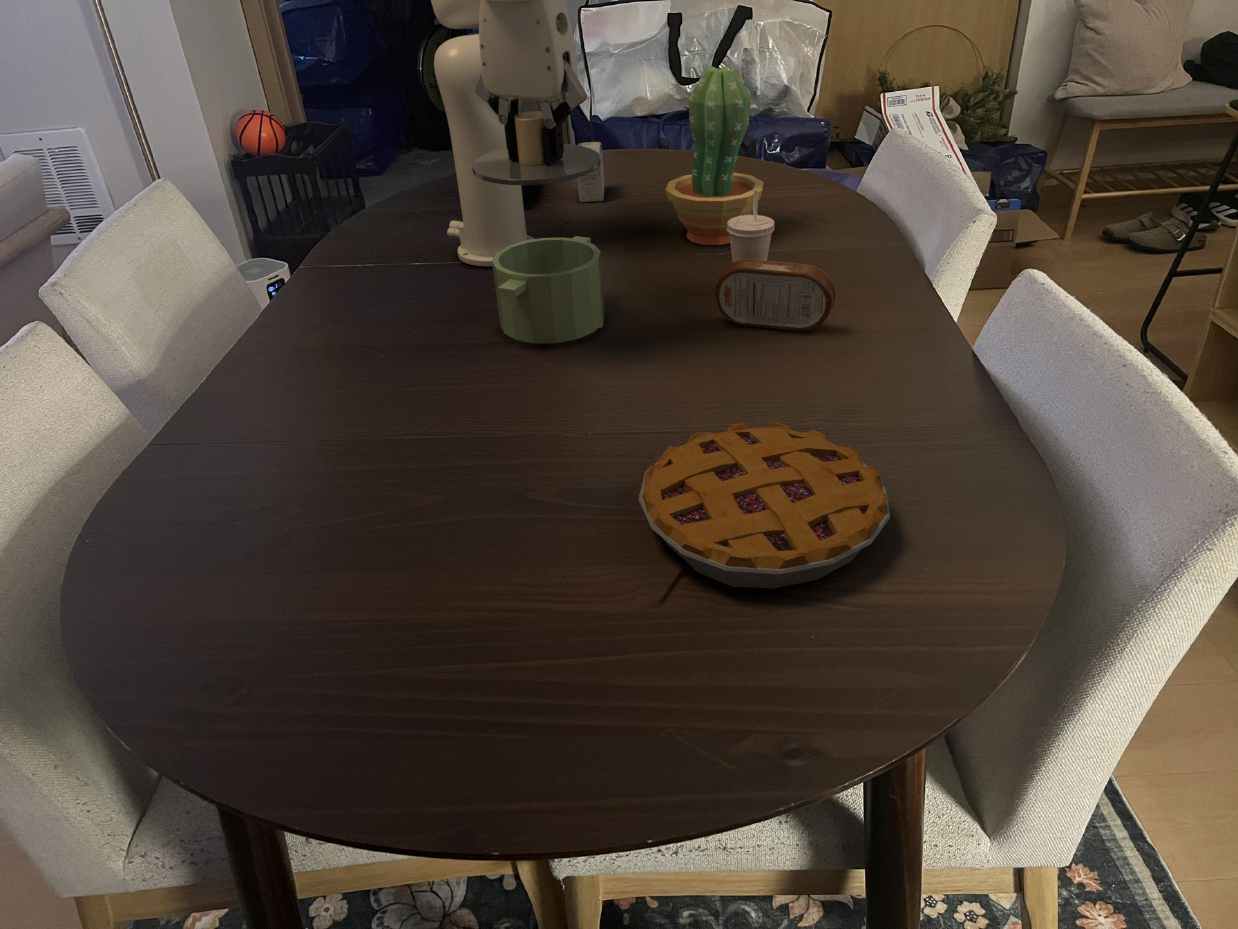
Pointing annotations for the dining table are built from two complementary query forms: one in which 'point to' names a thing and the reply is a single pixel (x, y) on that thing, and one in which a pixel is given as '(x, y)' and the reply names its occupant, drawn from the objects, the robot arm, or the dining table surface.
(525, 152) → the lid
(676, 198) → the potted cactus
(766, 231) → the smoothie
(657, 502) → the pie
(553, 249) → the pot
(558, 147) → the robot arm
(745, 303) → the tin
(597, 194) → the medicine box
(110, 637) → the dining table surface
